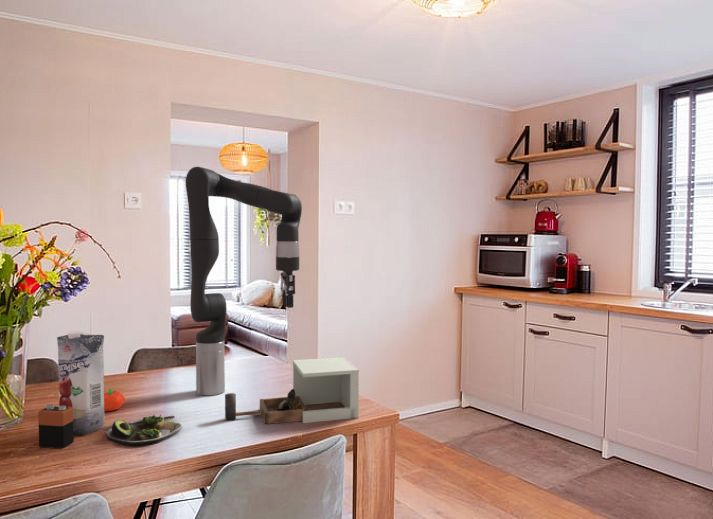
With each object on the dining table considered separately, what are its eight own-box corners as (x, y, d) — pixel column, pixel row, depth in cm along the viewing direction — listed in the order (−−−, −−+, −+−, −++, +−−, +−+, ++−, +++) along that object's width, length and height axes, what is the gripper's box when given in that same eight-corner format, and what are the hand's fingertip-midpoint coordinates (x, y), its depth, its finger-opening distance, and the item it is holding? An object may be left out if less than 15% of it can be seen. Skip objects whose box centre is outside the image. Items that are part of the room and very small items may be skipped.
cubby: (303, 422, 153) (303, 373, 152) (293, 404, 169) (293, 360, 169) (358, 417, 157) (358, 369, 156) (343, 400, 174) (343, 357, 173)
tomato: (107, 416, 159) (103, 395, 159) (95, 410, 165) (92, 390, 164) (130, 408, 165) (127, 387, 164) (119, 402, 170) (116, 383, 169)
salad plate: (154, 417, 158) (154, 401, 158) (199, 428, 149) (198, 411, 149) (93, 438, 141) (93, 421, 141) (140, 452, 132) (139, 433, 132)
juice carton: (83, 421, 153) (82, 326, 152) (109, 427, 148) (108, 329, 147) (54, 431, 145) (52, 331, 144) (80, 438, 140) (78, 334, 139)
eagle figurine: (309, 411, 159) (300, 397, 167) (297, 394, 157) (289, 380, 165) (287, 427, 158) (279, 412, 166) (274, 410, 155) (267, 395, 163)
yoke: (226, 427, 148) (226, 402, 148) (224, 411, 162) (224, 388, 162) (307, 420, 155) (307, 395, 154) (298, 405, 168) (298, 383, 168)
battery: (50, 441, 139) (49, 402, 138) (74, 442, 138) (73, 403, 137) (37, 447, 134) (37, 407, 134) (62, 449, 133) (62, 408, 133)
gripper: (273, 255, 180) (273, 303, 181) (278, 256, 166) (279, 309, 167) (295, 255, 182) (295, 303, 183) (303, 256, 169) (303, 308, 169)
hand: (287, 305), depth 175 cm, fingers open, 8 cm apart
